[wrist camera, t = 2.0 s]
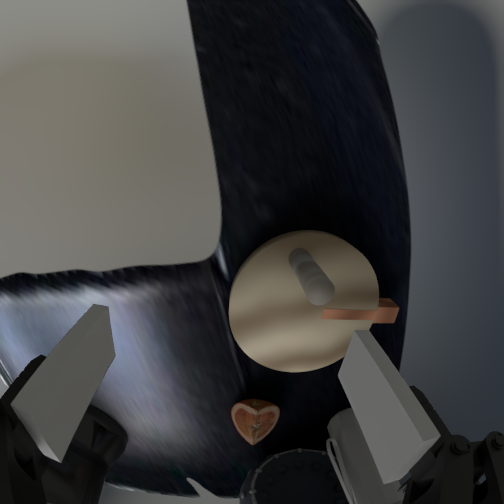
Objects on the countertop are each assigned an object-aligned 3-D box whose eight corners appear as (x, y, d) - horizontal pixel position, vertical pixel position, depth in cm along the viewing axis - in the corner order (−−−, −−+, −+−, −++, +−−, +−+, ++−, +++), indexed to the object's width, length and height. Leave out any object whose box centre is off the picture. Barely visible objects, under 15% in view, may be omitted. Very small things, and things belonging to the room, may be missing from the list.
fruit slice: (233, 384, 34) (232, 411, 30) (282, 385, 35) (287, 411, 30) (230, 420, 37) (230, 445, 32) (273, 421, 37) (277, 445, 32)
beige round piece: (389, 332, 32) (426, 379, 22) (249, 371, 32) (253, 433, 23) (384, 210, 27) (442, 231, 18) (211, 250, 28) (198, 293, 18)
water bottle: (375, 403, 38) (432, 521, 14) (351, 431, 40) (392, 543, 16) (330, 400, 36) (379, 543, 12) (307, 430, 38) (338, 559, 14)
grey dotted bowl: (240, 442, 39) (244, 544, 19) (349, 437, 40) (380, 522, 21) (235, 468, 42) (238, 553, 22) (332, 463, 43) (353, 538, 24)
